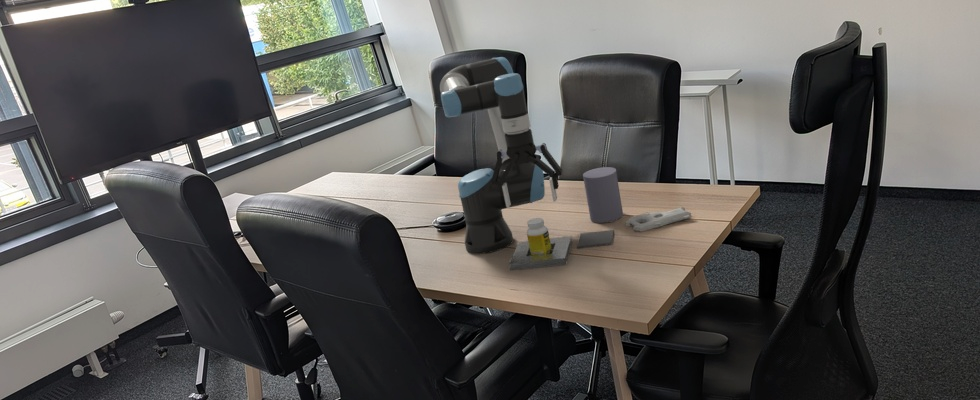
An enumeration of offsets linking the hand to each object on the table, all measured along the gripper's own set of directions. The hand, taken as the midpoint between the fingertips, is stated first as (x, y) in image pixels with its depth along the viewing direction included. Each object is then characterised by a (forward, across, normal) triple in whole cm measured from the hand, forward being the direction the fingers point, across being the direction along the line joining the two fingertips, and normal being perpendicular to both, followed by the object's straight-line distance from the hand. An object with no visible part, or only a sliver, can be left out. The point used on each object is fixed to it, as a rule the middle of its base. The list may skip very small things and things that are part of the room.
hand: (531, 203), depth 211 cm
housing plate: (+16, 0, 0) cm, 17 cm away
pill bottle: (+17, 0, 0) cm, 17 cm away
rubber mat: (+16, +15, +8) cm, 24 cm away
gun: (+17, +33, +17) cm, 41 cm away
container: (+17, +17, +26) cm, 35 cm away
